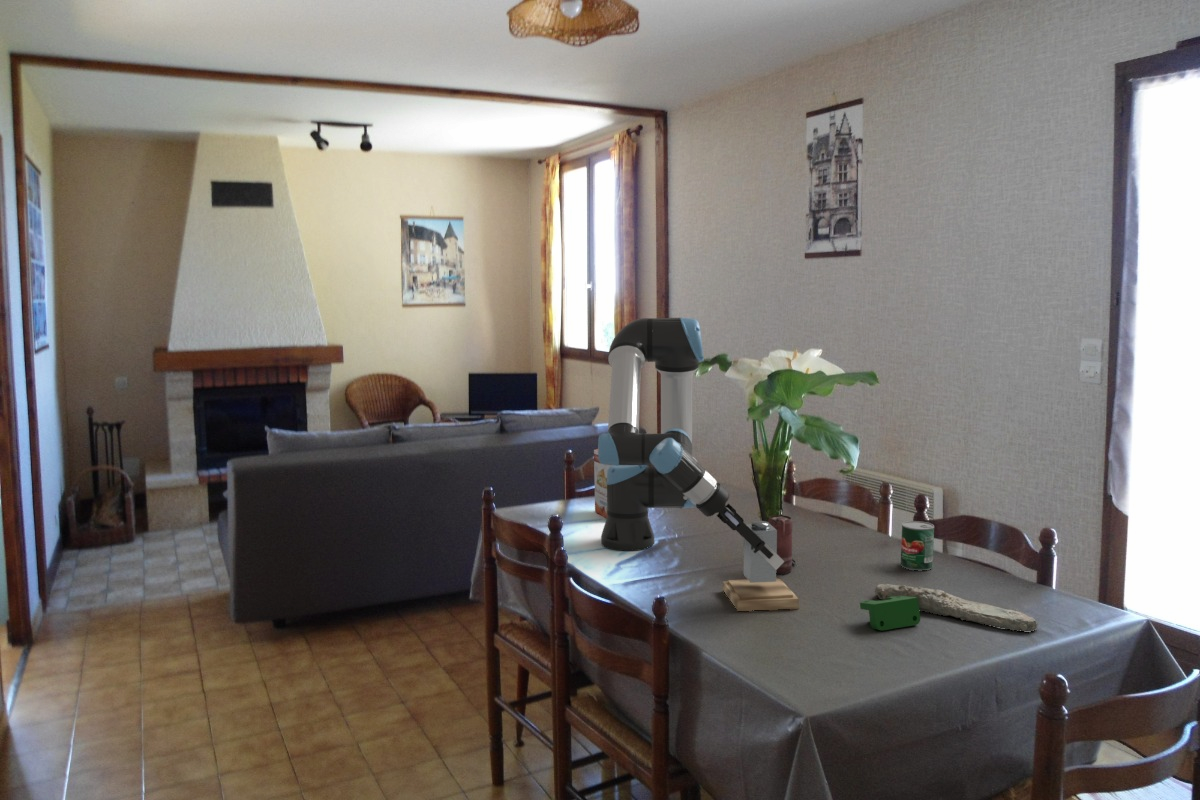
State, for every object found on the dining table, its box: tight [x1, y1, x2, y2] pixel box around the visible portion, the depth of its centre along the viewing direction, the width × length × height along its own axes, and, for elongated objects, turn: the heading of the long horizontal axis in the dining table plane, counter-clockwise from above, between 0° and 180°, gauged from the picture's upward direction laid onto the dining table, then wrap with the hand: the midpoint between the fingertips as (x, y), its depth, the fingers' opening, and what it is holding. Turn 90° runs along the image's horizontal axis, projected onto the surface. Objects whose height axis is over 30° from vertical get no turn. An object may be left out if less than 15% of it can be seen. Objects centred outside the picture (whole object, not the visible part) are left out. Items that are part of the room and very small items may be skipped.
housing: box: [743, 520, 777, 583], centre depth 206 cm, size 6×6×13 cm
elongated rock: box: [874, 583, 1039, 631], centre depth 198 cm, size 35×5×10 cm
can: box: [767, 514, 793, 575], centre depth 228 cm, size 6×6×14 cm
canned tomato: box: [900, 520, 935, 572], centre depth 231 cm, size 8×8×11 cm
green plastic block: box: [859, 596, 921, 631], centre depth 192 cm, size 12×6×9 cm, turn 104°
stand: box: [722, 577, 800, 612], centre depth 208 cm, size 14×14×3 cm
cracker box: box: [593, 448, 612, 519], centre depth 284 cm, size 14×6×21 cm, turn 25°
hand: (775, 560), depth 207 cm, fingers closed on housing, 6 cm apart
